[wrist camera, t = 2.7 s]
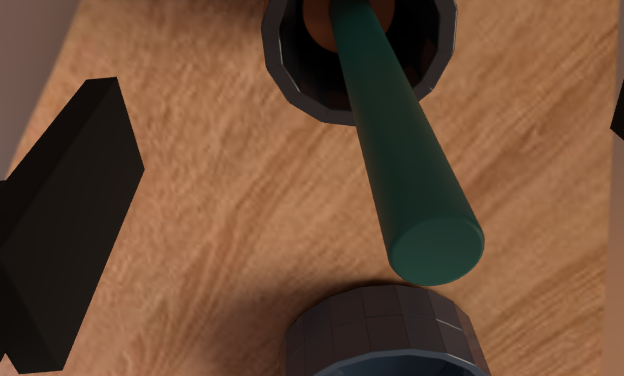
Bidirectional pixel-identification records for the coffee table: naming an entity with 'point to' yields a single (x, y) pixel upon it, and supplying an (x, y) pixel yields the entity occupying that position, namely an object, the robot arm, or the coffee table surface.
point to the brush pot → (326, 65)
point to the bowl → (383, 336)
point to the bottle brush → (398, 147)
